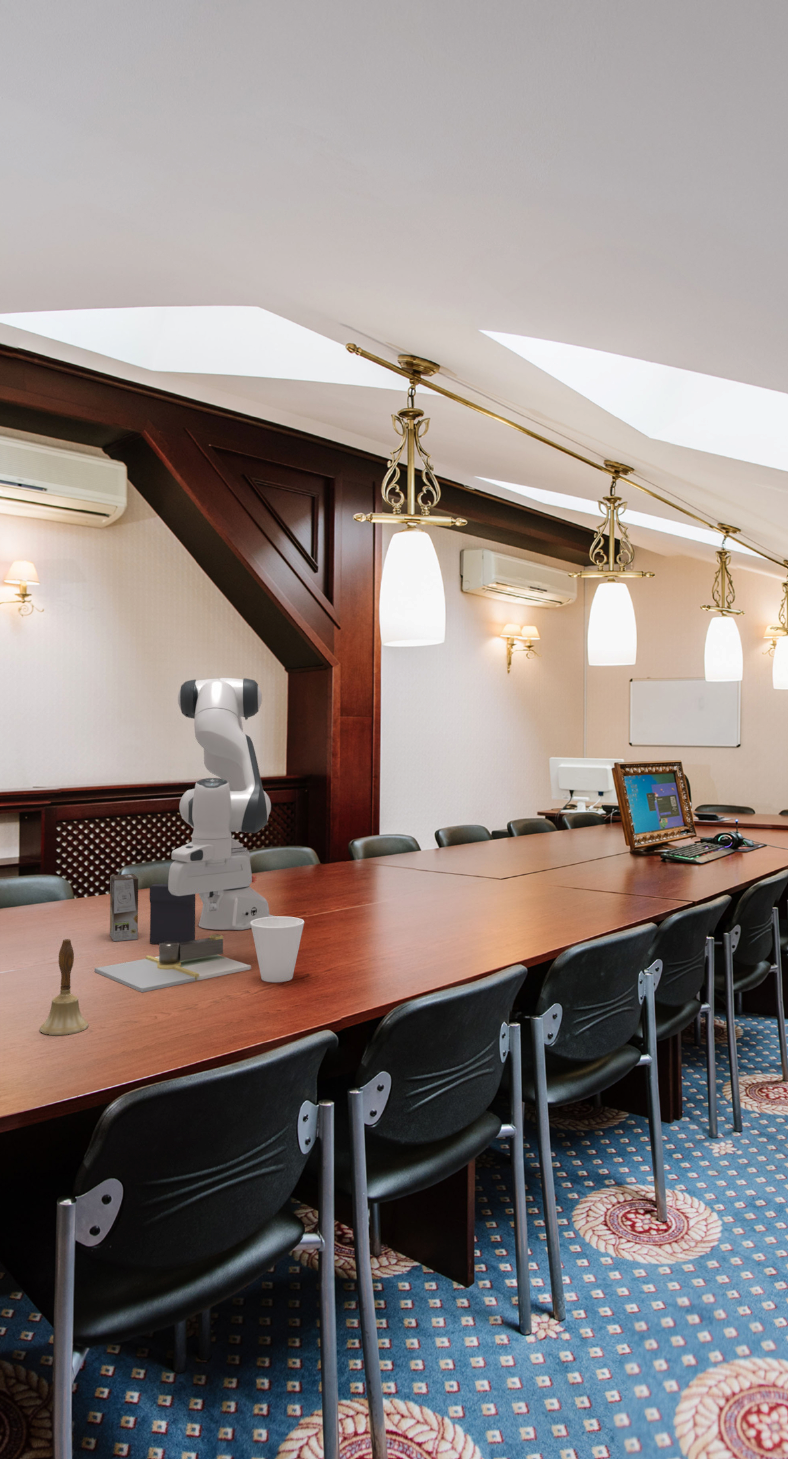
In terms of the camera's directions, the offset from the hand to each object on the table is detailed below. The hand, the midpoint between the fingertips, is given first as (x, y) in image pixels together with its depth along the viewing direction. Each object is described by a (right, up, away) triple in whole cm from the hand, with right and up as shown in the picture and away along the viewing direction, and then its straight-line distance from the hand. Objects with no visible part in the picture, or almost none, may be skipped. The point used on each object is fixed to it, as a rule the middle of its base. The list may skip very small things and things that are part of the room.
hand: (211, 910), depth 197 cm
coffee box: (-30, -14, +32) cm, 46 cm away
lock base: (-8, -13, -1) cm, 16 cm away
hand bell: (-18, -13, -41) cm, 46 cm away
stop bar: (-5, -11, +3) cm, 13 cm away
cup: (+16, -14, -7) cm, 22 cm away
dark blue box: (-15, -14, +26) cm, 33 cm away
